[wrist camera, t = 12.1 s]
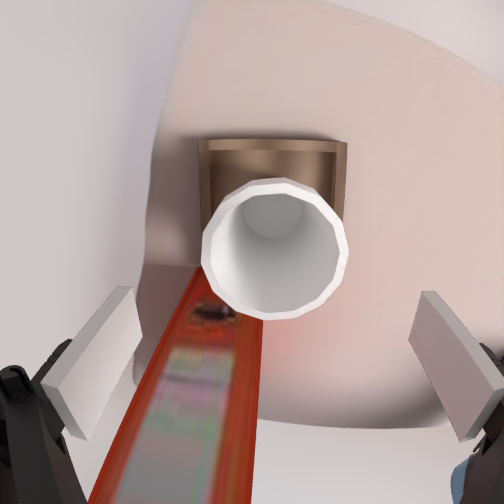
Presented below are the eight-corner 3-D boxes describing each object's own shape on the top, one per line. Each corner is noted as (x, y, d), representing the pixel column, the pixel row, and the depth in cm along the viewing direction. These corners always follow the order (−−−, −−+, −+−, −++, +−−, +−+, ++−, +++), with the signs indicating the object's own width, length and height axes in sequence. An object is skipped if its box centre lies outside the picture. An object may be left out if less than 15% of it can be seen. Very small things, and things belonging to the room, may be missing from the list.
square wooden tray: (341, 141, 30) (347, 143, 27) (332, 268, 35) (336, 278, 32) (203, 139, 30) (198, 140, 28) (208, 266, 35) (204, 276, 33)
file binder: (196, 375, 42) (142, 590, 12) (194, 266, 36) (65, 560, 6) (252, 381, 42) (234, 605, 12) (265, 273, 35) (249, 605, 6)
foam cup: (256, 265, 34) (249, 339, 22) (209, 193, 32) (172, 234, 20) (334, 223, 32) (370, 279, 20) (289, 145, 29) (304, 154, 17)
